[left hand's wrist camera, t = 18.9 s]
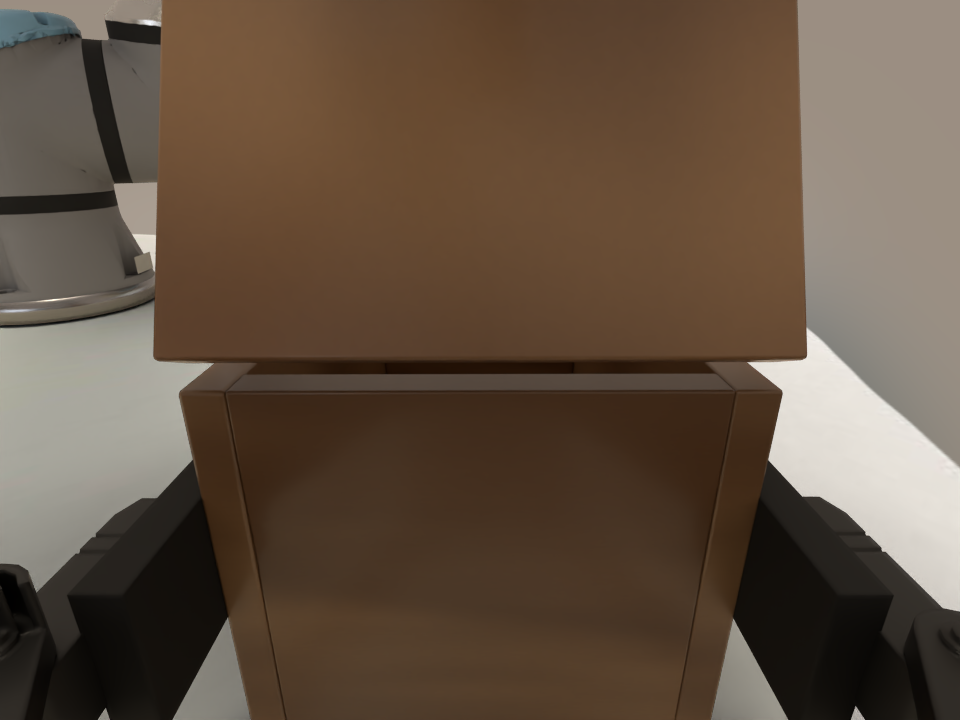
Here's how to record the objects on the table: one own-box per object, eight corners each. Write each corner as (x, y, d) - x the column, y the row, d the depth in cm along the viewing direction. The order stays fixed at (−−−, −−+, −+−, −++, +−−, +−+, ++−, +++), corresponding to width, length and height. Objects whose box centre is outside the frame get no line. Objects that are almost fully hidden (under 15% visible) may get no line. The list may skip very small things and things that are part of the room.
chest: (378, 450, 26) (361, 242, 22) (581, 450, 26) (597, 242, 22) (264, 791, 12) (174, 392, 9) (697, 790, 12) (786, 391, 9)
